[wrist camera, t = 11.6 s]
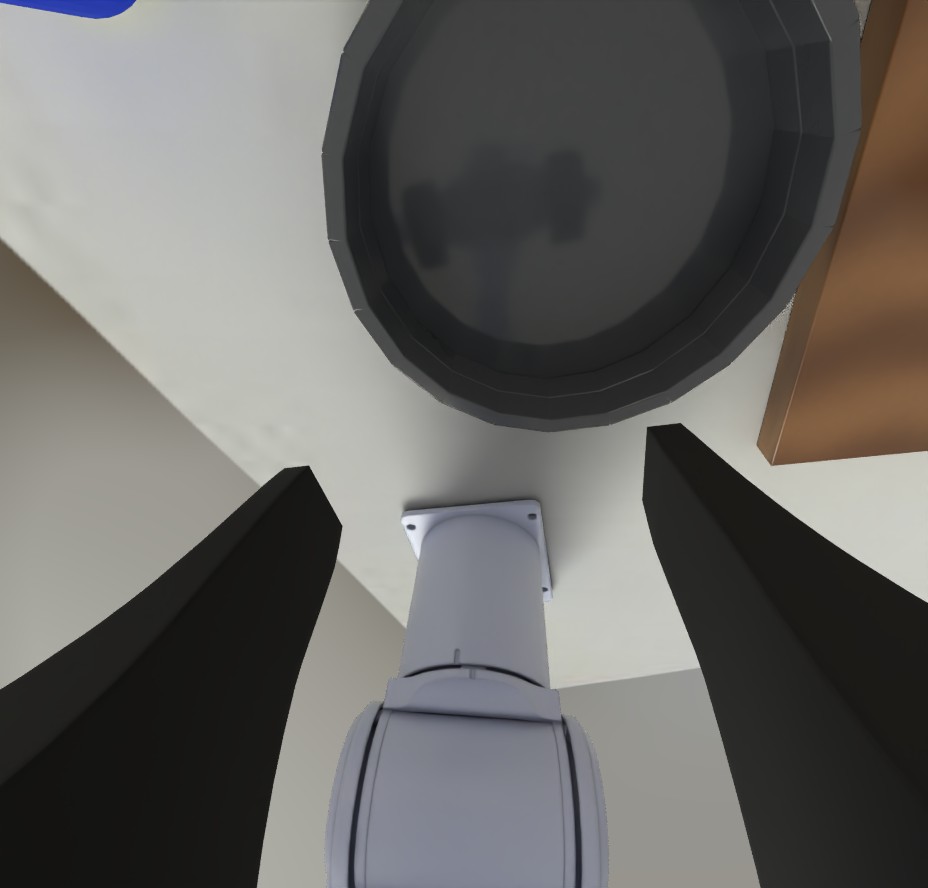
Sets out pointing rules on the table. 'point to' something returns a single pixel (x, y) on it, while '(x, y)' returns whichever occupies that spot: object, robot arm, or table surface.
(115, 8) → the beverage can
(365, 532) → the table surface
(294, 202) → the table surface
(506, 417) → the pan
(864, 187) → the chopping board
